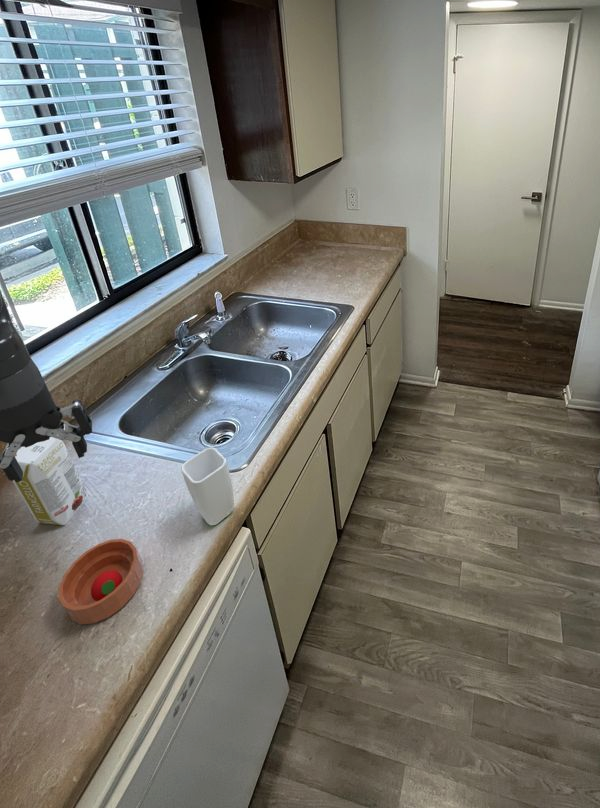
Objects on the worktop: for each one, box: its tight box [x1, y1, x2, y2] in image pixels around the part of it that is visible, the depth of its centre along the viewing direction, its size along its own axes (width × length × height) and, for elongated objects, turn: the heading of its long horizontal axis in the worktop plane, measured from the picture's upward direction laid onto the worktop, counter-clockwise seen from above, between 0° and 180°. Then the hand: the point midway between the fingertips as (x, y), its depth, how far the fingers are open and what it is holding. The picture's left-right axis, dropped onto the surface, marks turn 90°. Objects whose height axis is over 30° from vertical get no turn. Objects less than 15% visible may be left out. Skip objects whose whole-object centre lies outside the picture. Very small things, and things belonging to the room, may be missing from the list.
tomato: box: [91, 570, 123, 601], centre depth 80 cm, size 5×5×5 cm
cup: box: [180, 446, 235, 526], centre depth 92 cm, size 7×7×15 cm
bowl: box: [57, 538, 145, 625], centre depth 81 cm, size 12×12×5 cm
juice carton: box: [12, 437, 89, 526], centre depth 92 cm, size 8×9×19 cm
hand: (51, 465), depth 74 cm, fingers open, 8 cm apart
